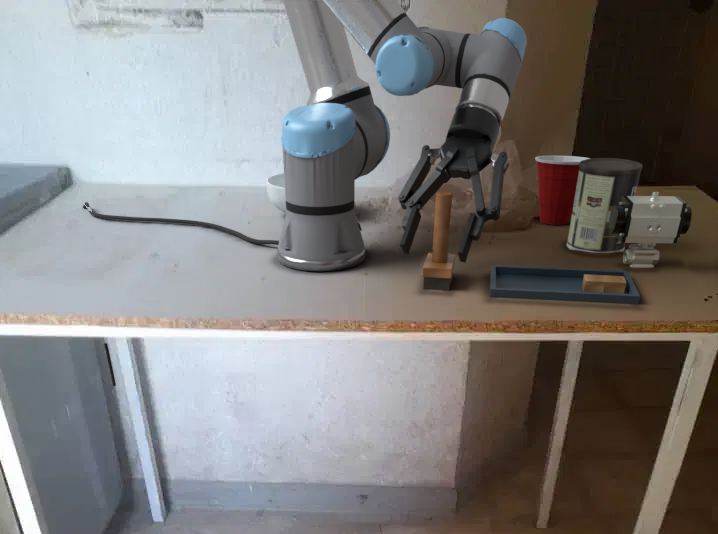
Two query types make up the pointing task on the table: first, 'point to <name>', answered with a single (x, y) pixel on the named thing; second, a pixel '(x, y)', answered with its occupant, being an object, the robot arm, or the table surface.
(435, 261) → the brush
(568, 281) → the tray
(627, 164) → the coffee can
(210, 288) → the table surface
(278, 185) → the cereal bowl
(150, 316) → the table surface
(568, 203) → the plastic cup
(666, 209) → the pneumatic valve
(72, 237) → the table surface
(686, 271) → the table surface
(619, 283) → the small wooden block
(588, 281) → the brown wooden block
